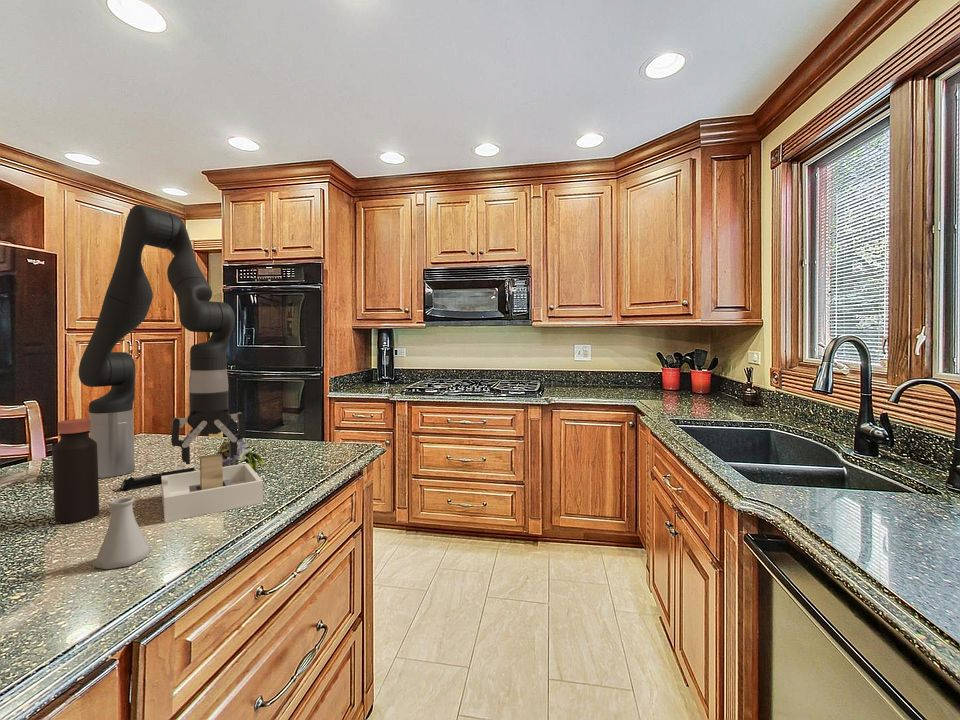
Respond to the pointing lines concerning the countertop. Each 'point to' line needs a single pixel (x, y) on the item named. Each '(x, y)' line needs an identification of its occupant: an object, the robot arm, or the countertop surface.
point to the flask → (122, 538)
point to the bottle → (75, 472)
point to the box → (210, 492)
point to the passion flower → (240, 454)
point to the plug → (211, 471)
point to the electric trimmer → (149, 479)
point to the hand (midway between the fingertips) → (210, 460)
